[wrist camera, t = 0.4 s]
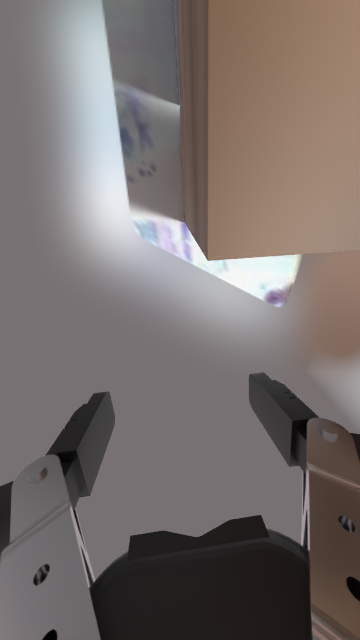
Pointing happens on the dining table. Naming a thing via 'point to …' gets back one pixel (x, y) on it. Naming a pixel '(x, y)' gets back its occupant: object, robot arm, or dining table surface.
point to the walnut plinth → (270, 125)
